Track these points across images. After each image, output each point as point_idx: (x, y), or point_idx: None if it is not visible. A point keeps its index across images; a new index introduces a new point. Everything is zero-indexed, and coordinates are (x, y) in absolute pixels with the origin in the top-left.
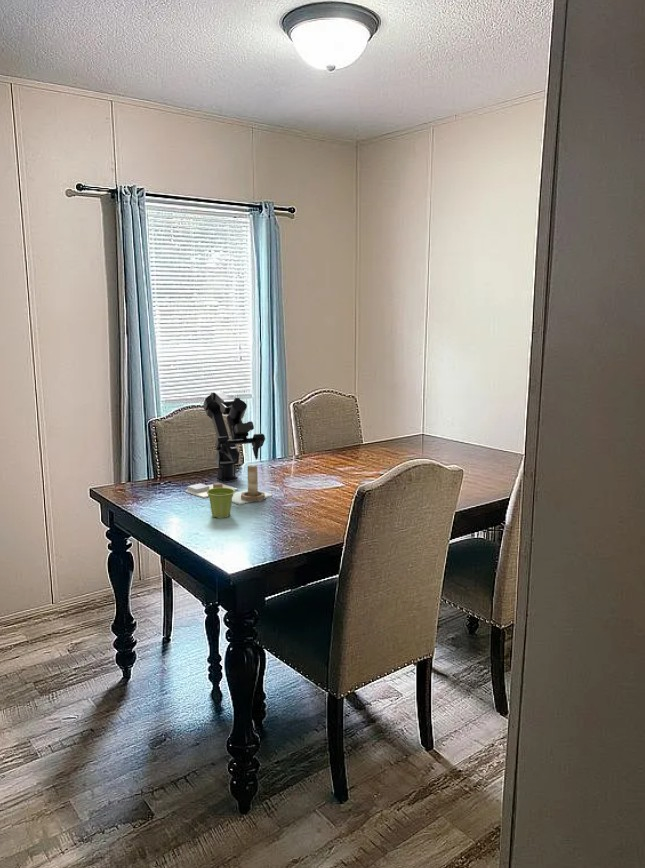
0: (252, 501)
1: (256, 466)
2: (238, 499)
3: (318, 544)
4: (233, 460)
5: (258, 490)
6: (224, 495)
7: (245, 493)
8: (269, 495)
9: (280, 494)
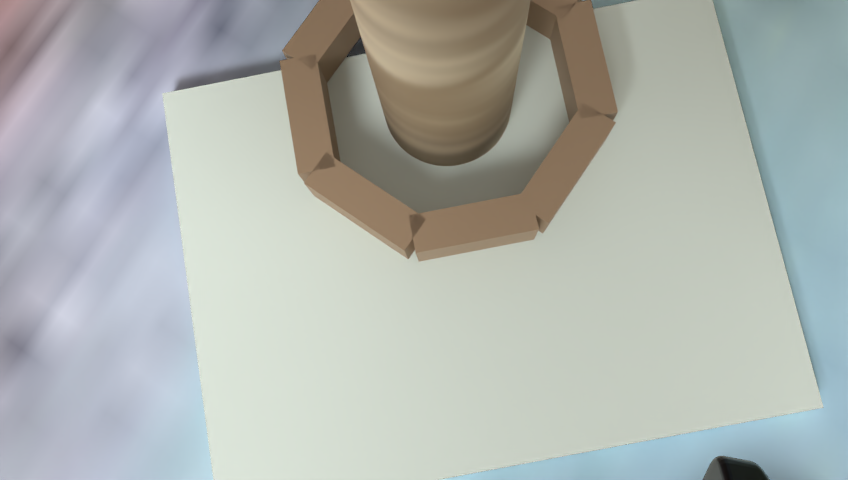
0: None
1: None
2: (641, 144)
3: None
4: (753, 467)
5: (200, 376)
6: None
7: (502, 198)
8: (214, 86)
9: (44, 121)
